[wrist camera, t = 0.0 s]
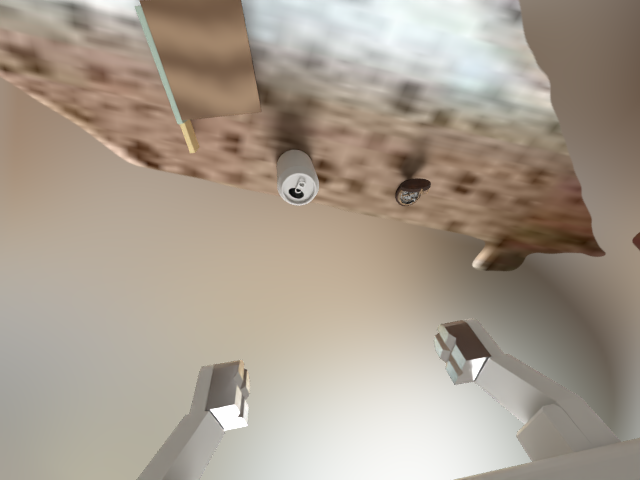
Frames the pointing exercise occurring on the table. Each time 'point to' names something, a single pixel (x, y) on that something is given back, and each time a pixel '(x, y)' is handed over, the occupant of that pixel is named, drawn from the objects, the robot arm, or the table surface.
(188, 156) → the table surface
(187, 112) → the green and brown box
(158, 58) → the green yellow-tipped stick
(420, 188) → the compass
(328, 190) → the table surface
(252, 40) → the table surface
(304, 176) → the can
